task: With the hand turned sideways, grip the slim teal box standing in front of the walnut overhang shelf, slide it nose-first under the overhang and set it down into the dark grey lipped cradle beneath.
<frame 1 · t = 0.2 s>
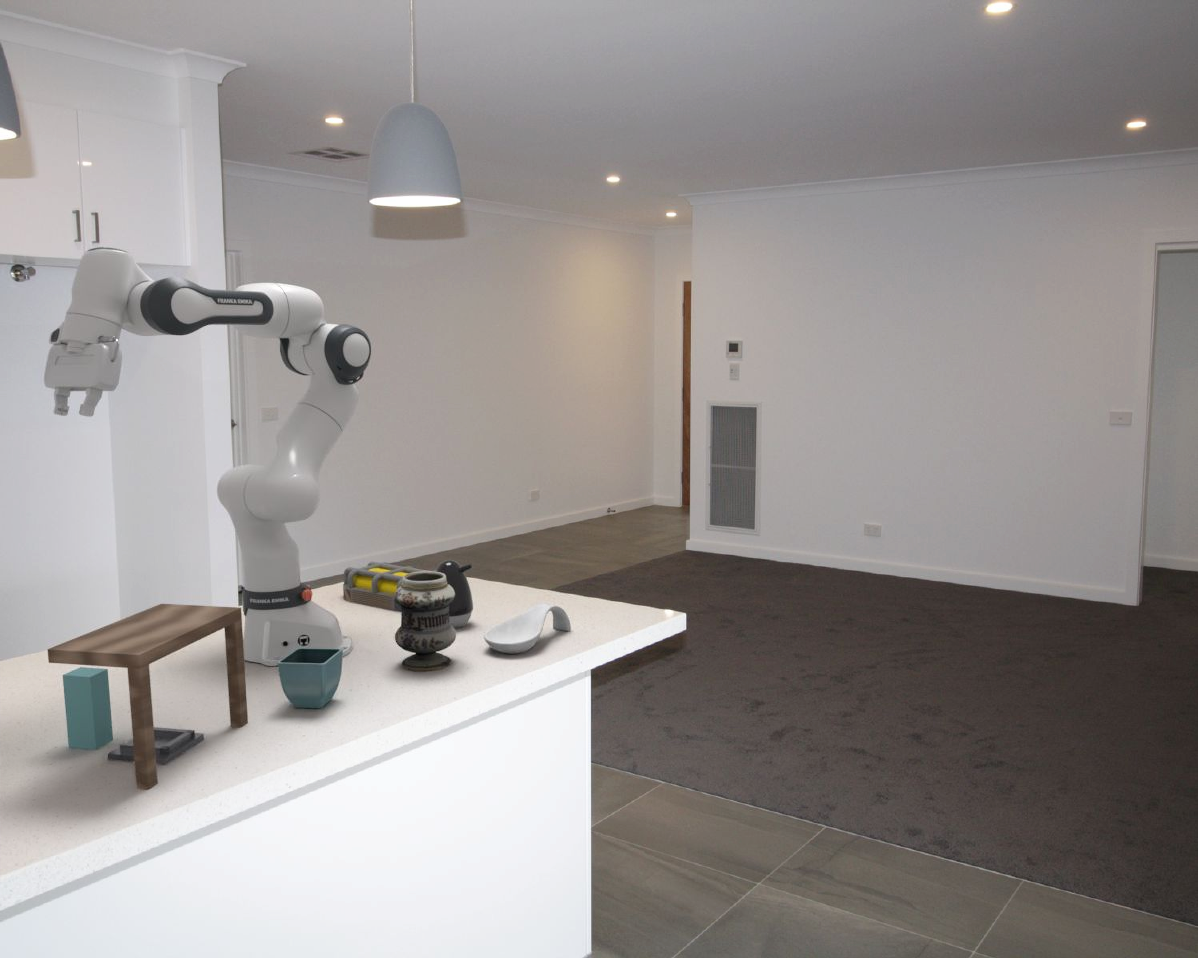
hand: (72, 415, 171), 52 cm above the worktop, tool tilted 20°, fingers open, 8 cm apart
overhang shelf: (157, 749, 159), on the worktop
flower pot: (312, 705, 178), on the worktop
seat cradle: (157, 749, 159), on the worktop
apothecary jar: (426, 664, 200), on the worktop
teal box: (91, 743, 161), on the worktop
cage light: (394, 601, 250), on the worktop
spoon rest: (529, 644, 214), on the worktop
black rounded upright piece: (451, 626, 227), on the worktop
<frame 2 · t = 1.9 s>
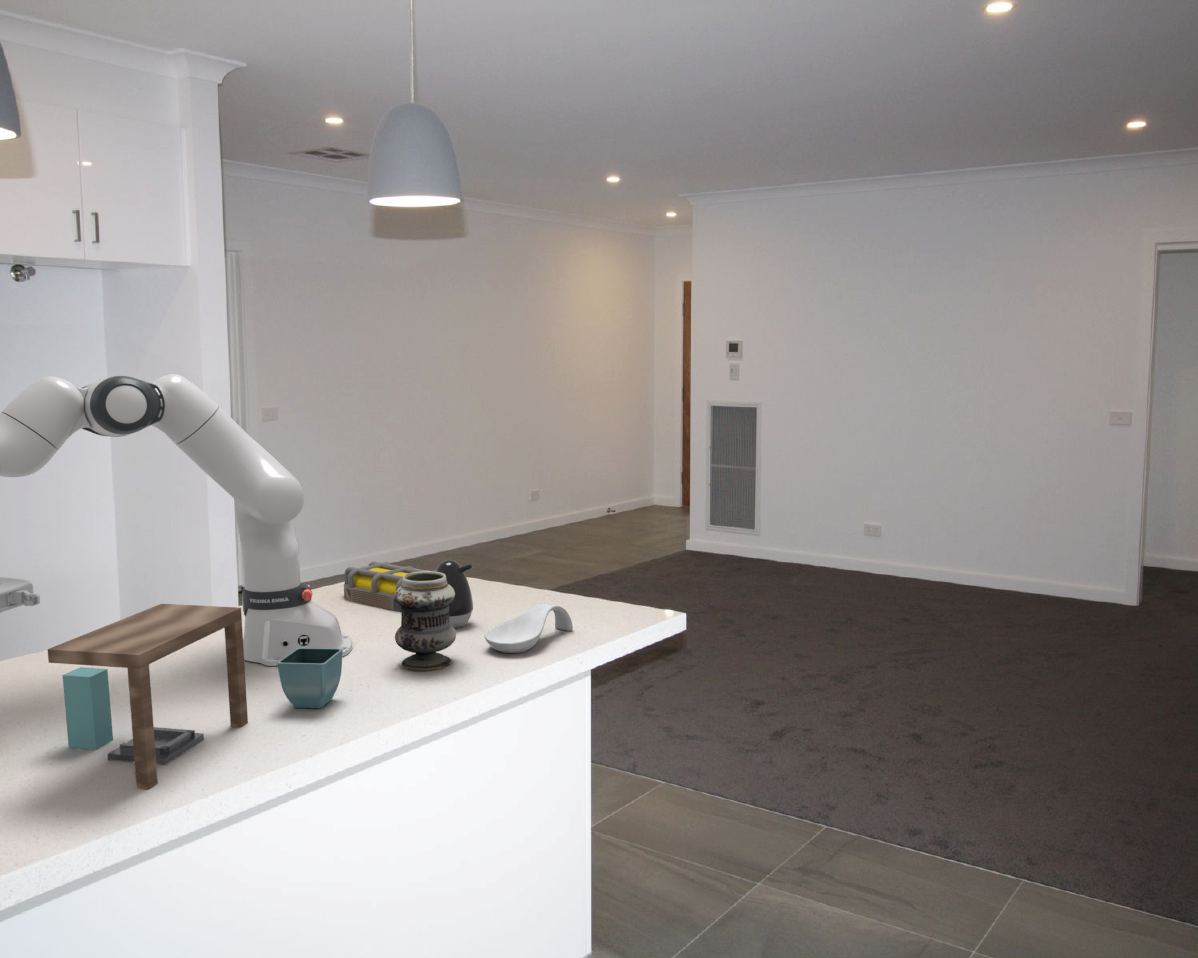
hand: (14, 607, 161), 22 cm above the worktop, tool horizontal, fingers open, 8 cm apart
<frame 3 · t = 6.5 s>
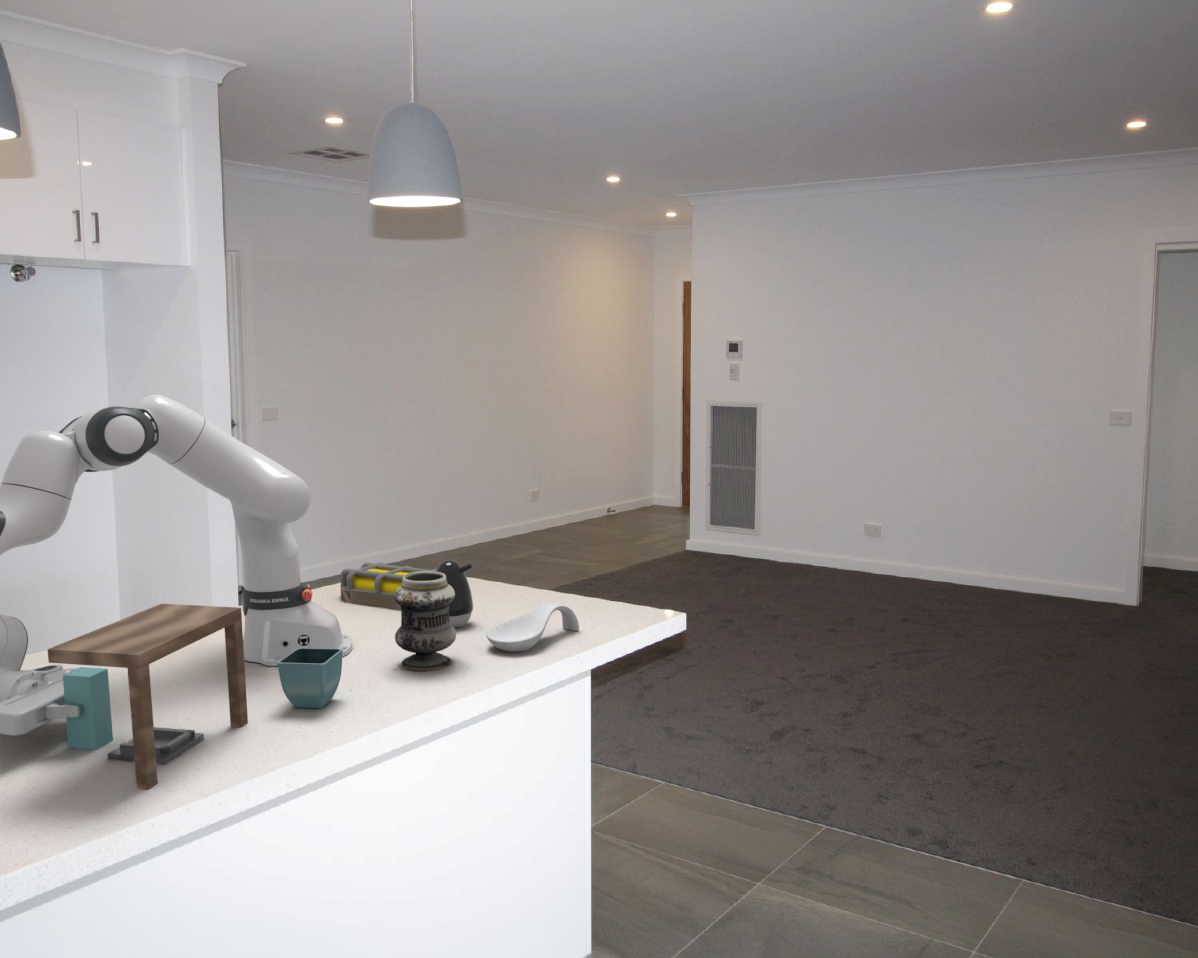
hand: (92, 704, 160), 7 cm above the worktop, tool horizontal, fingers closed on teal box, 4 cm apart
teal box: (91, 743, 161), on the worktop, touching gripper
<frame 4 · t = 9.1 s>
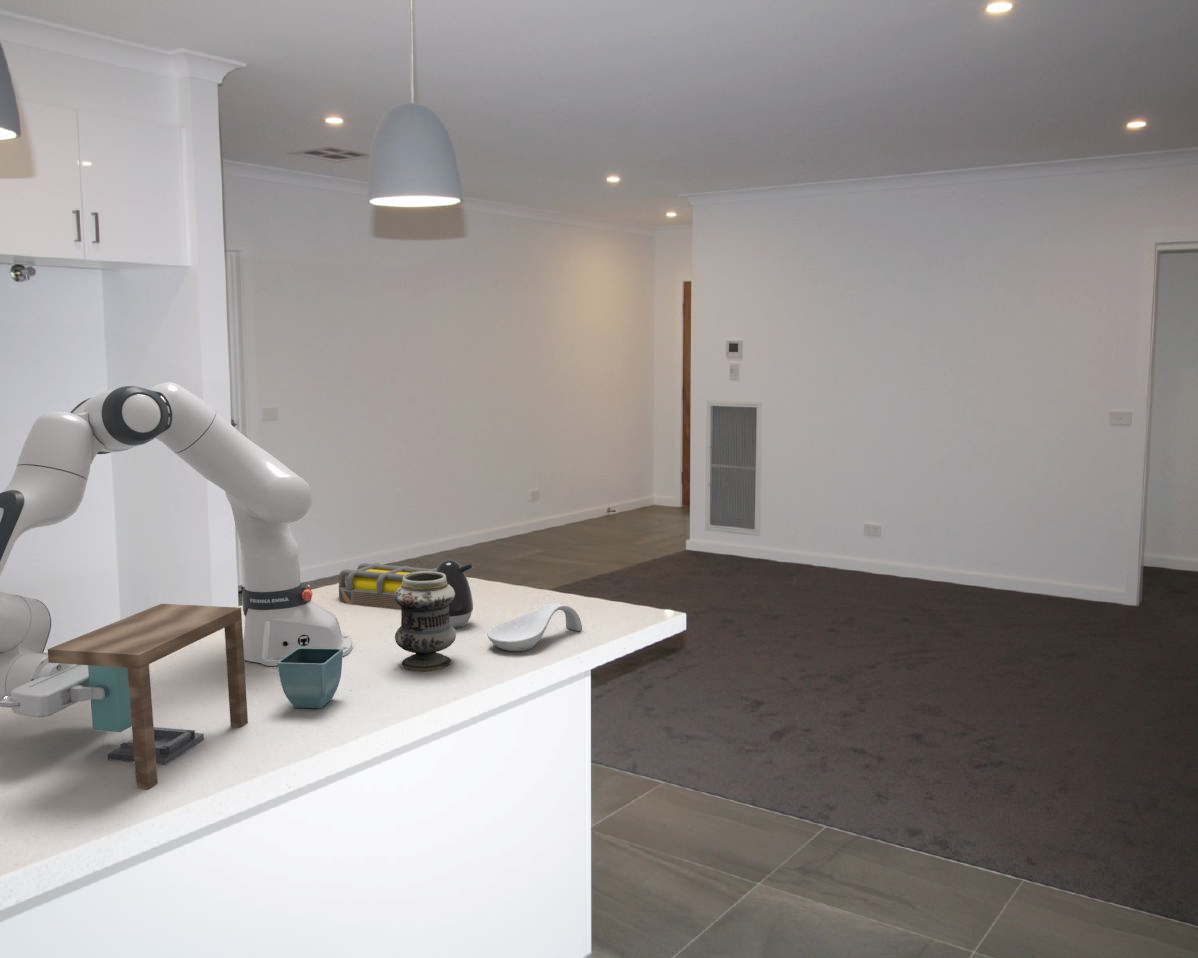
hand: (117, 686, 159), 10 cm above the worktop, tool horizontal, fingers closed on teal box, 4 cm apart
teal box: (115, 726, 160), point 3 cm above the worktop, touching gripper
when the fingers open (9 cm above the worktop, at t = 11.7 s): teal box drops 1 cm, resting on seat cradle.
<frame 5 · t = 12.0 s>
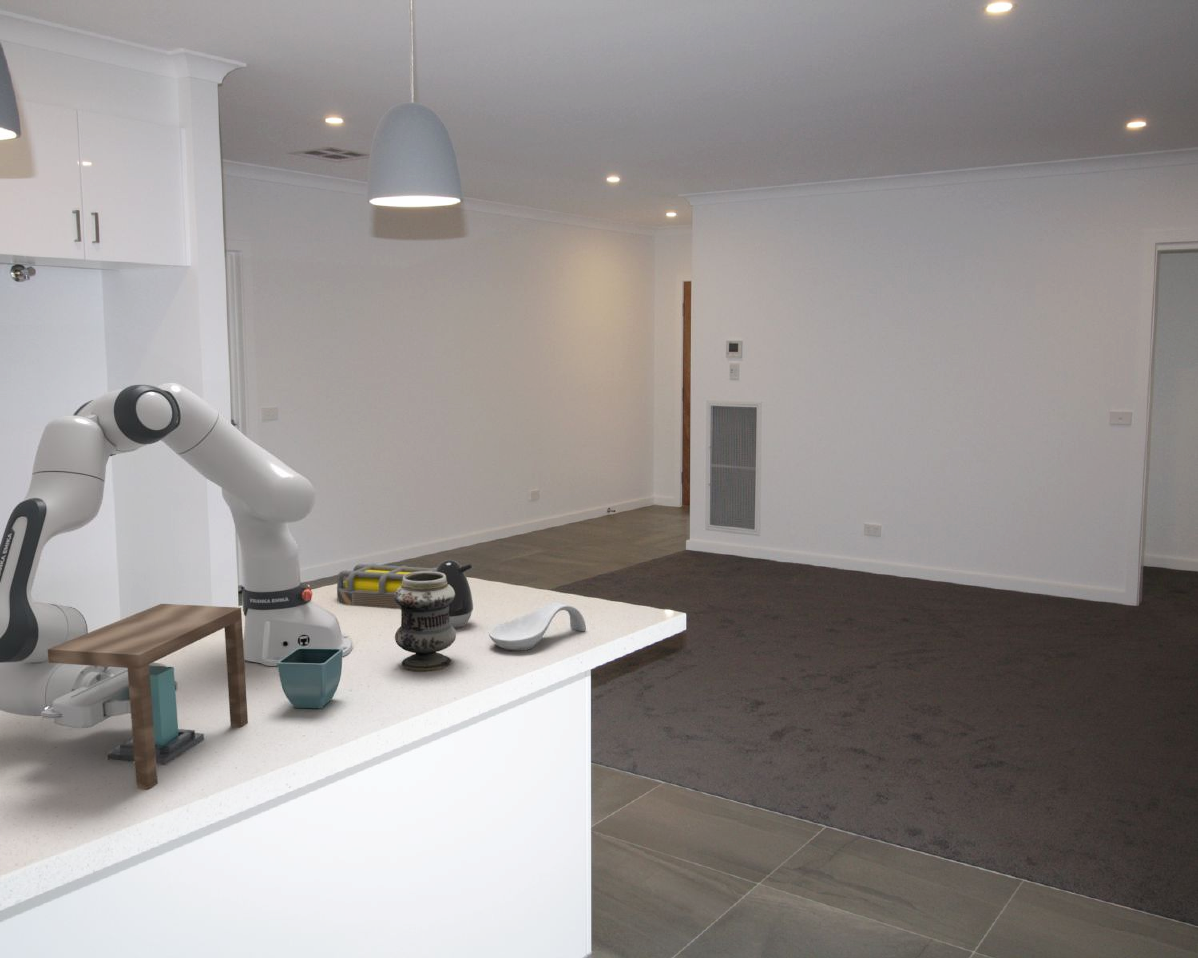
hand: (158, 696, 157), 9 cm above the worktop, tool horizontal, fingers open, 7 cm apart
teal box: (157, 743, 159), point 1 cm above the worktop, touching seat cradle
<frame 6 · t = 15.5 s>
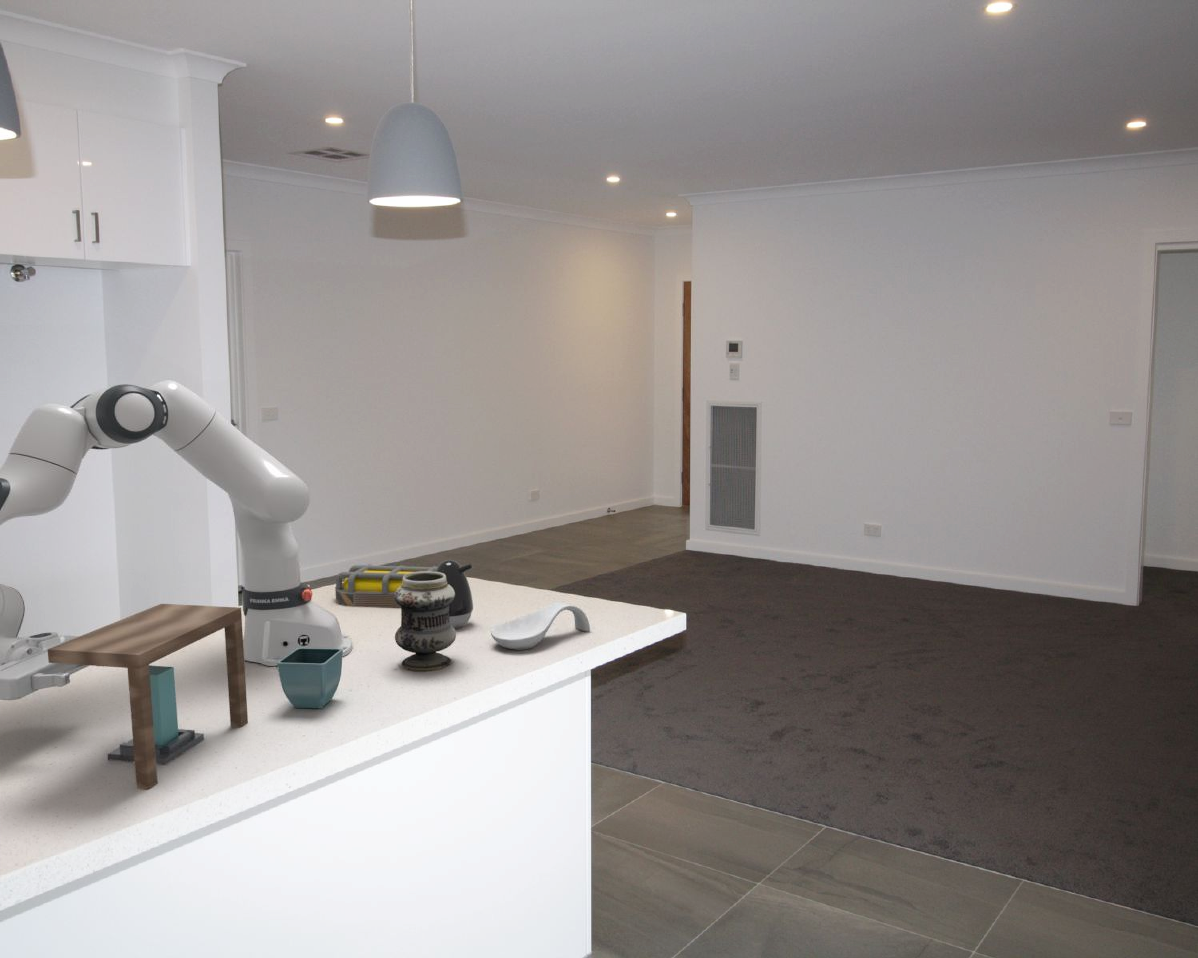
hand: (87, 669, 160), 12 cm above the worktop, tool horizontal, fingers open, 8 cm apart
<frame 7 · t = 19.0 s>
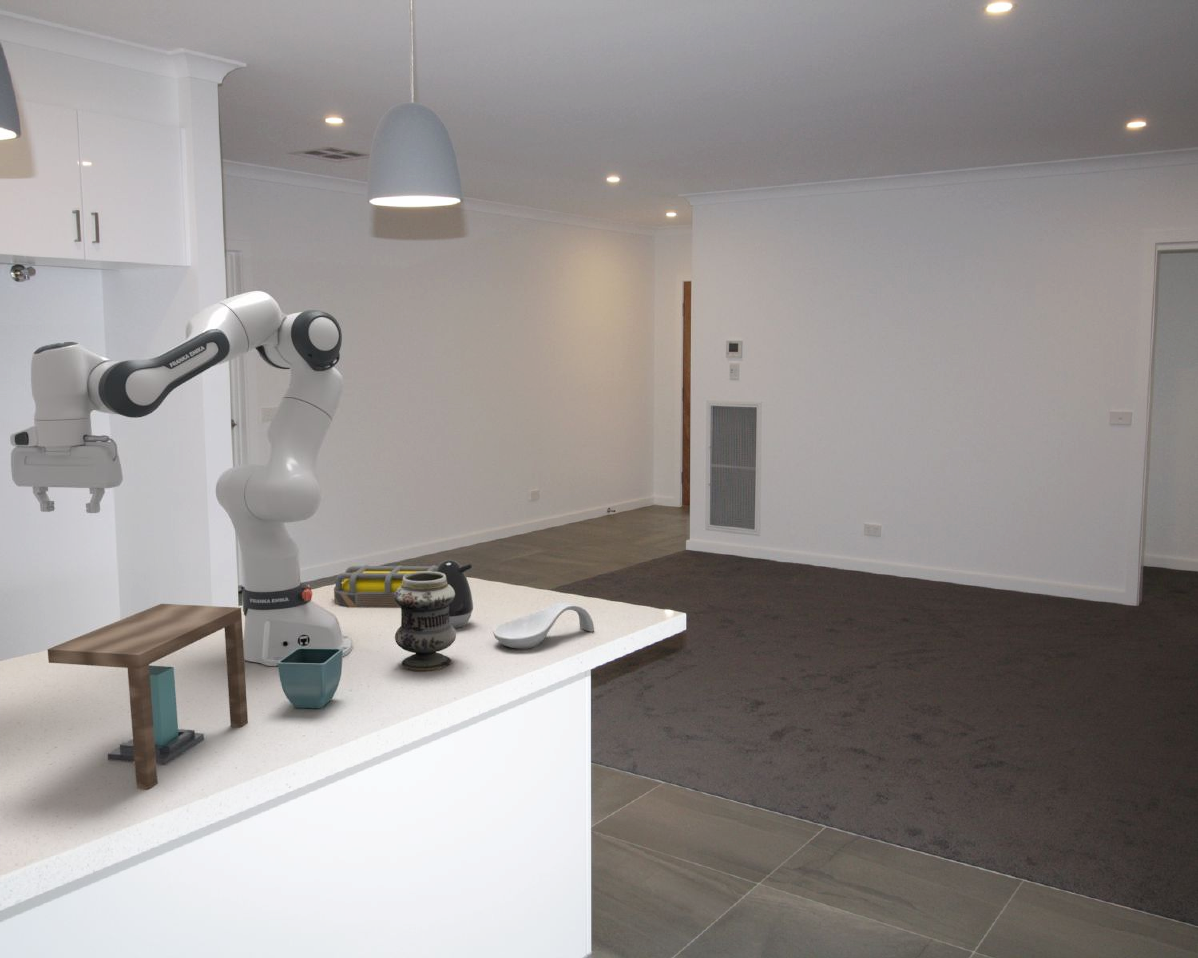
hand: (70, 512, 179), 34 cm above the worktop, tool pointing down, fingers open, 8 cm apart
at the end: teal box 0.0 cm off-centre on the seat cradle, point 1.0 cm above the seat cradle's base; teal box tilted 0°; the gripper is holding nothing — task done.
